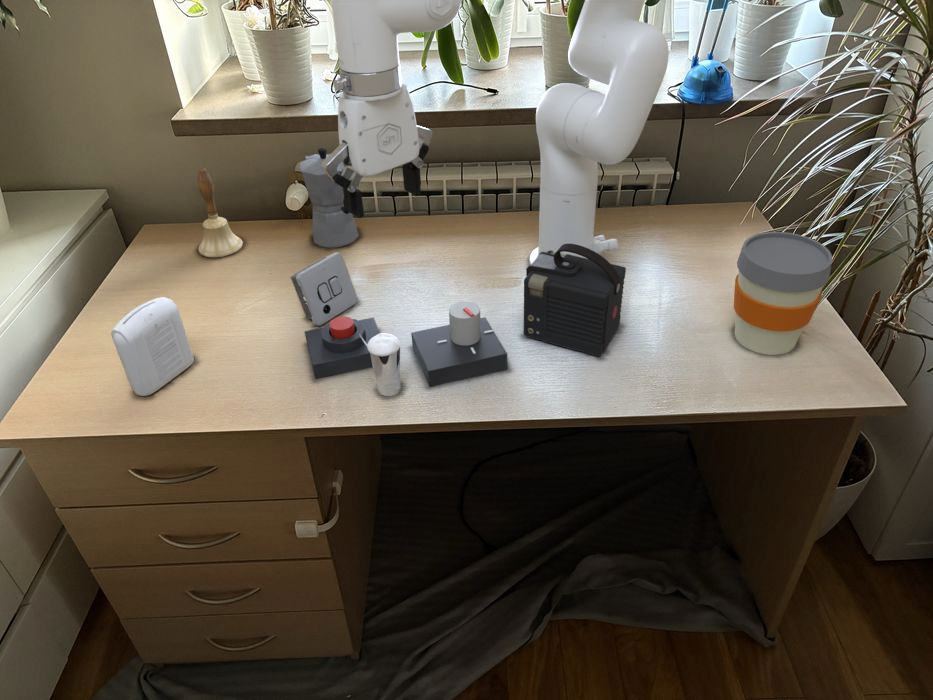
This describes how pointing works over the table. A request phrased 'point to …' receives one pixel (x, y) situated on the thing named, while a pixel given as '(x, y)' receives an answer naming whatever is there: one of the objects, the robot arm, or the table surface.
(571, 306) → the camera
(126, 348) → the photo printer
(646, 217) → the table surface
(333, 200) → the coffeepot
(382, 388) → the milkshake
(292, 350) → the table surface
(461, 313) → the dial
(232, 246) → the hand bell
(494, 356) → the panel
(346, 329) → the power button
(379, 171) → the robot arm
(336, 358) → the power housing
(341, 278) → the electrical switch
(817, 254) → the reusable coffee cup
